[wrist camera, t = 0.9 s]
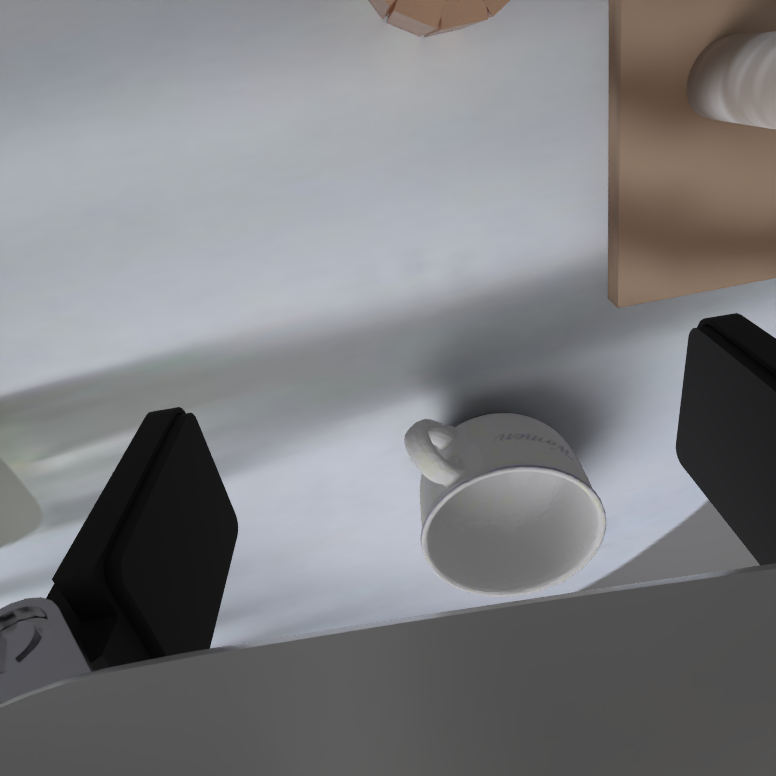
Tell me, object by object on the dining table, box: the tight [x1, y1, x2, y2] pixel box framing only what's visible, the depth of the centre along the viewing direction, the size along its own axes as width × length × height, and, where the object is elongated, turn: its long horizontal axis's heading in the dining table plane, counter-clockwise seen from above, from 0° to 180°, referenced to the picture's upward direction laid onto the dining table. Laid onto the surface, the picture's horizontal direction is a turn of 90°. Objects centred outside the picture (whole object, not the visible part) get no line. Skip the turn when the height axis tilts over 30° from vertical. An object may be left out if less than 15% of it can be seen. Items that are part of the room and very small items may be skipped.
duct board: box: [608, 0, 776, 308], centre depth 26 cm, size 22×10×8 cm, turn 11°
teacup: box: [404, 413, 606, 597], centre depth 36 cm, size 14×11×8 cm
